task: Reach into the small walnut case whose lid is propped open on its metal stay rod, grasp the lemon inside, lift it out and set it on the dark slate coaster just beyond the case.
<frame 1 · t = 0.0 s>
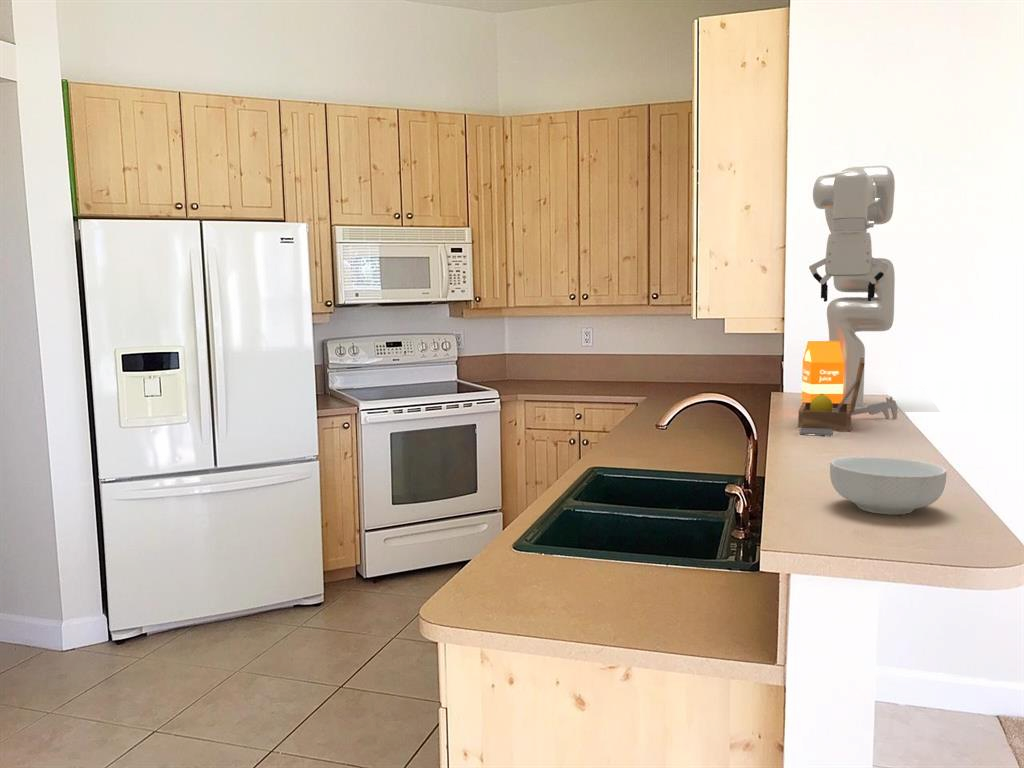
hand: (847, 301, 207), 31 cm above the counter, tool pointing down, fingers open, 9 cm apart
orange juice: (821, 414, 243), on the counter
case: (825, 424, 223), on the counter
caliper: (856, 420, 233), on the counter
lemon: (821, 425, 223), resting in case
coaster: (816, 433, 211), on the counter
cereal bowl: (885, 510, 138), on the counter
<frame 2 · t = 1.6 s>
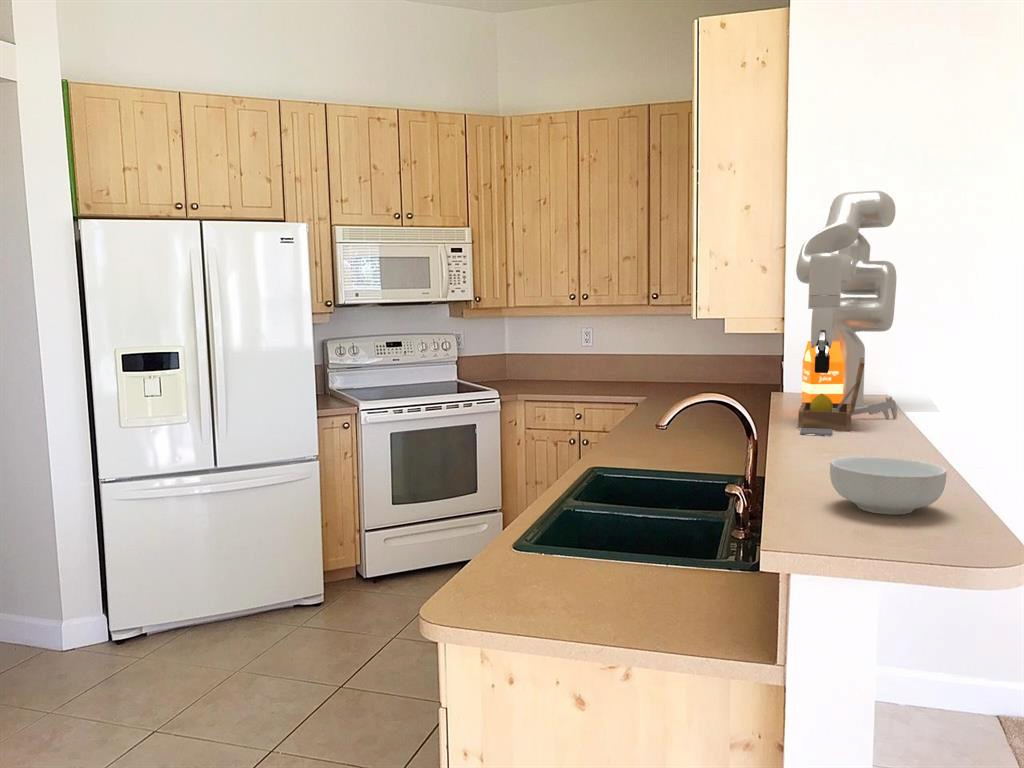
hand: (822, 371, 221), 14 cm above the counter, tool pointing down, fingers open, 9 cm apart
nothing on the counter moved.
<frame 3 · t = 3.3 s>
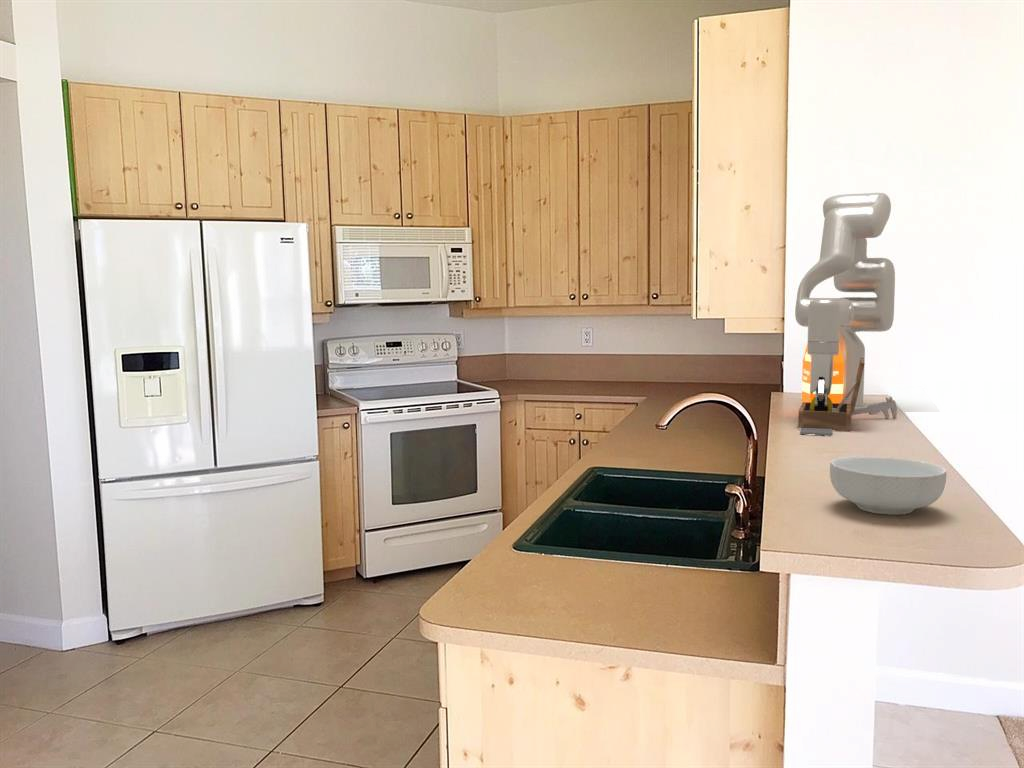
hand: (821, 419, 223), 1 cm above the counter, tool pointing down, fingers closed on lemon, 5 cm apart
lemon: (821, 425, 223), resting in case, touching gripper
everything else where it was.
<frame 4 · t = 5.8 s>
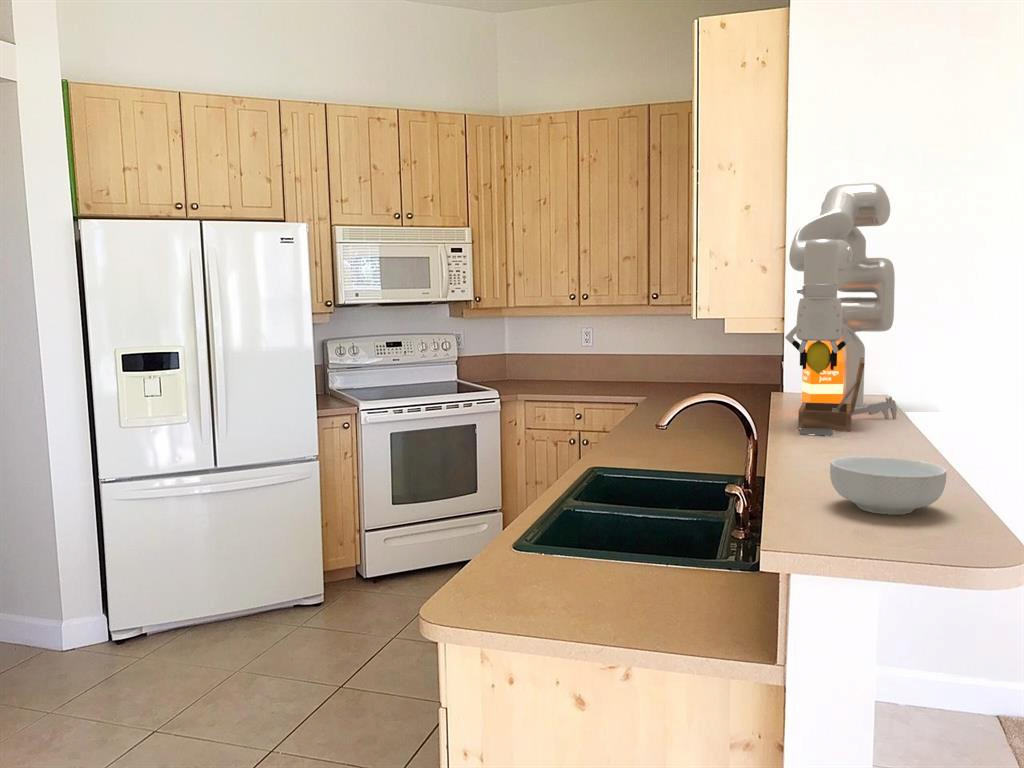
hand: (818, 368, 209), 15 cm above the counter, tool pointing down, fingers closed on lemon, 5 cm apart
lemon: (817, 374, 209), point 14 cm above the counter, touching gripper
everything else where it was.
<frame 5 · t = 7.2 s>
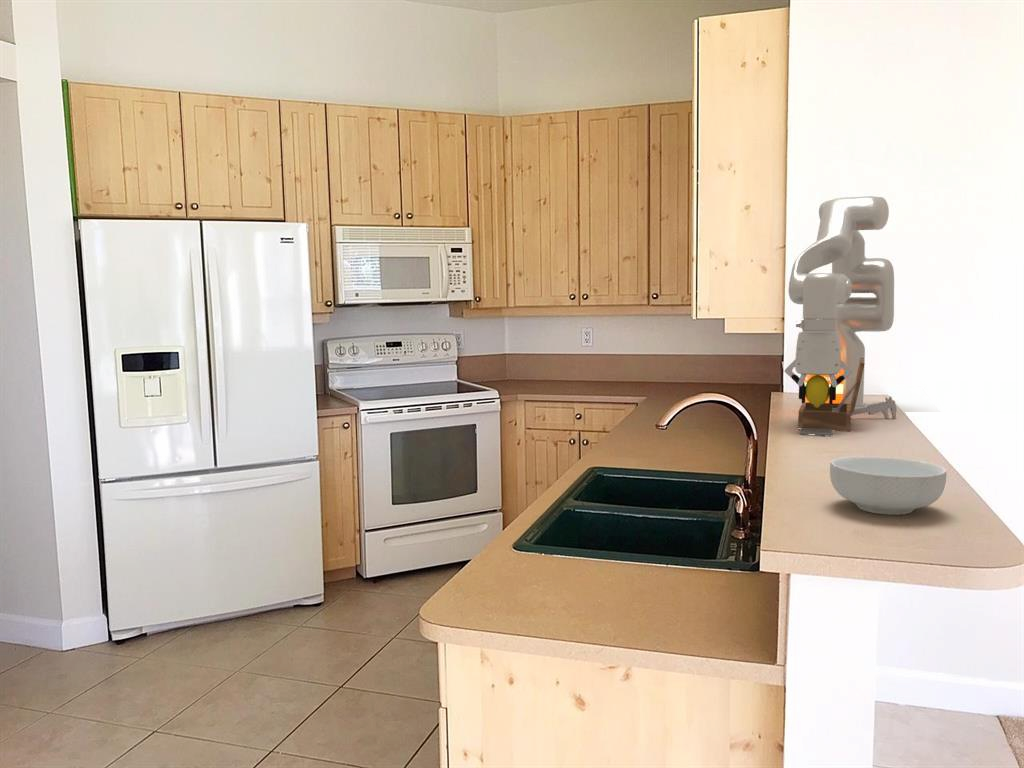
hand: (817, 402, 210), 7 cm above the counter, tool pointing down, fingers closed on lemon, 5 cm apart
lemon: (816, 408, 210), point 6 cm above the counter, touching gripper
everything else where it was.
when the fingers open (4 cm above the counter, at t = 8.3 s): lemon drops 2 cm, resting on coaster.
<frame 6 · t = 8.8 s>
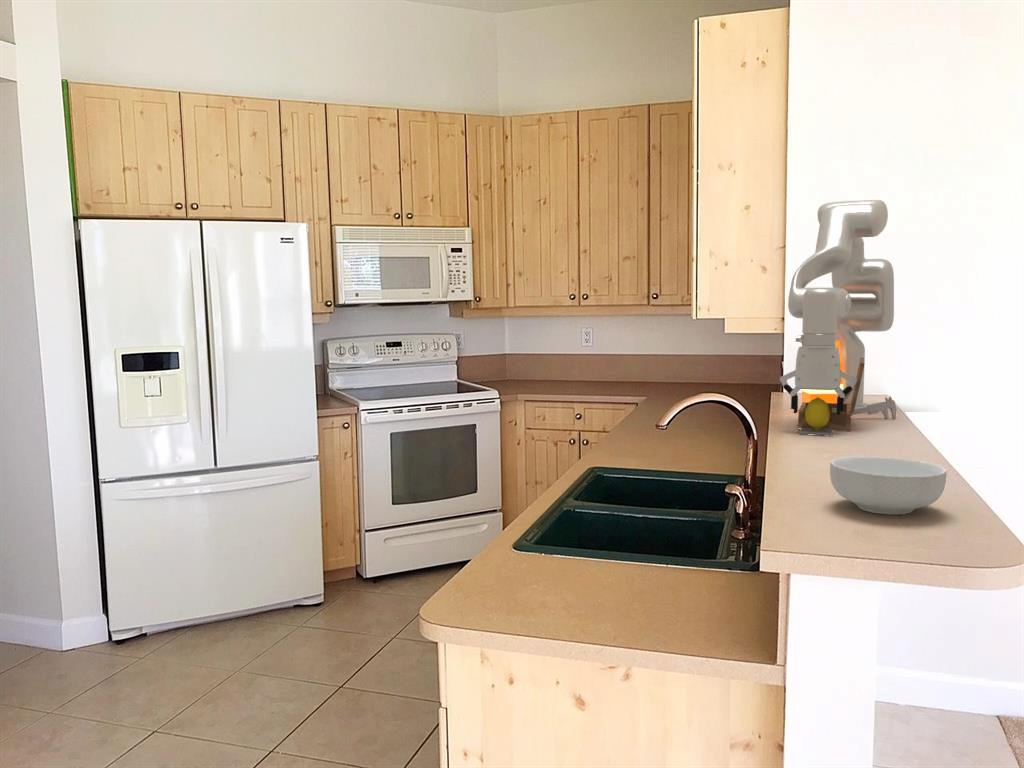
hand: (816, 413, 210), 5 cm above the counter, tool pointing down, fingers open, 9 cm apart
lemon: (816, 431, 211), resting on coaster
everything else where it was.
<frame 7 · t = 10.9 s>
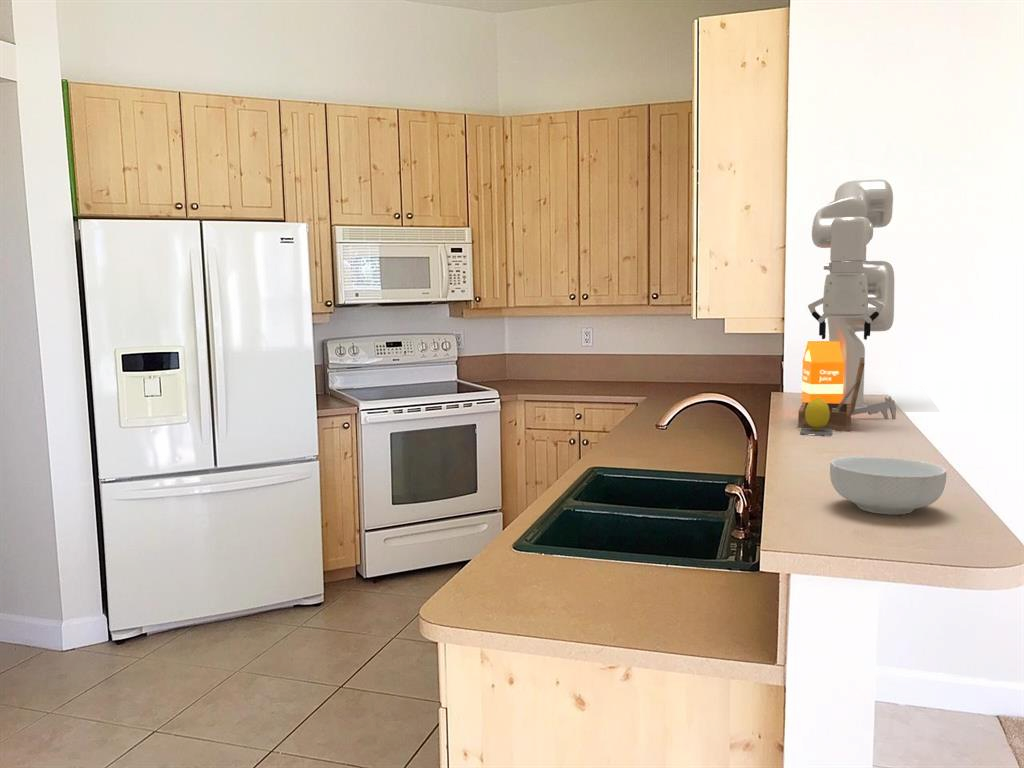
hand: (844, 338, 217), 22 cm above the counter, tool pointing down, fingers open, 9 cm apart
nothing on the counter moved.
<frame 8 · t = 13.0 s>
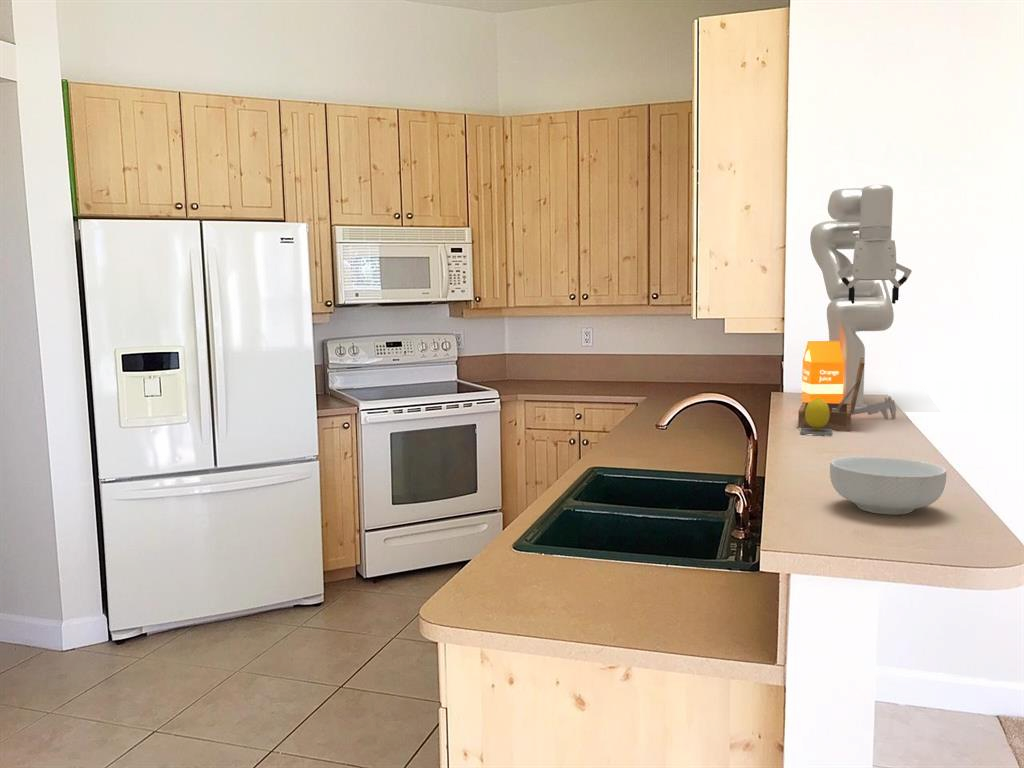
hand: (873, 303, 224), 30 cm above the counter, tool pointing down, fingers open, 9 cm apart
nothing on the counter moved.
at the end: lemon 0.2 cm from the coaster (horizontally); lemon resting on coaster; lemon moved 13.8 cm from its start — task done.
